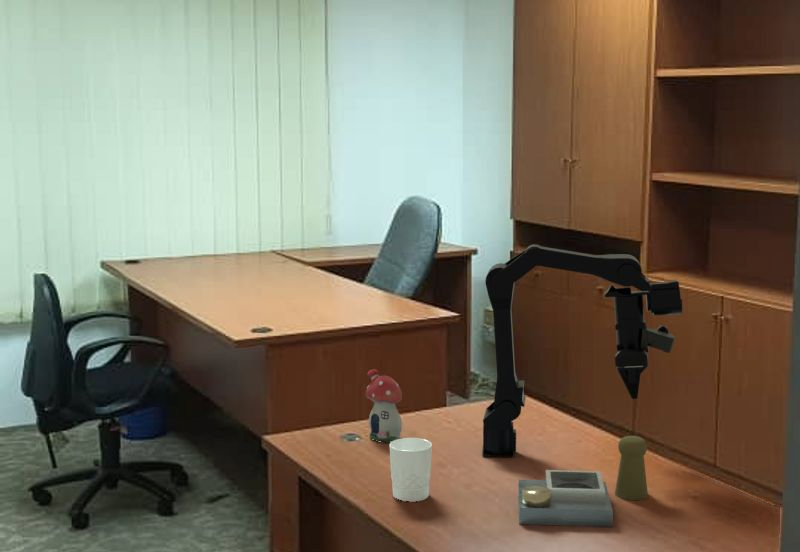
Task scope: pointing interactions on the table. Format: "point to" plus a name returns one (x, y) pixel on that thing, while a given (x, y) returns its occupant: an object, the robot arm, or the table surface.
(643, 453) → the olive knobbed post
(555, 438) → the table surface
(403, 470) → the white cup
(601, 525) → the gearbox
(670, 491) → the table surface
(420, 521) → the table surface
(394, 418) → the decorative ornament
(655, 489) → the table surface
